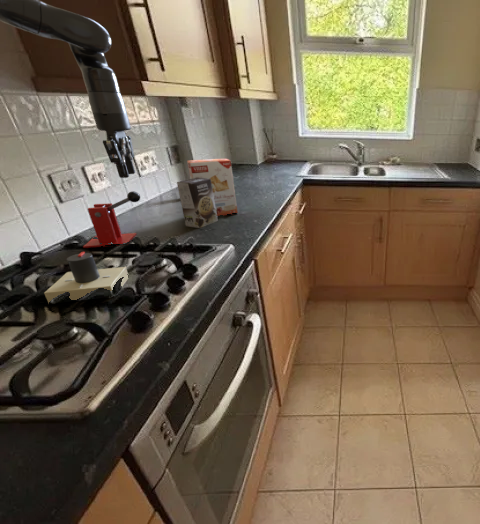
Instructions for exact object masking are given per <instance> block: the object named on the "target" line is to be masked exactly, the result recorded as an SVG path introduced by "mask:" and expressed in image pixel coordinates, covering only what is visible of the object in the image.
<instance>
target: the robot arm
mask: <svg viewBox="0 0 480 524" xmlns="http://www.w3.org/2000/svg"><path fill="white" fill-rule="evenodd" d="M0 22H2V23H4V24H6V25H10V26H11V27H14V28H16V29H19V30H23V31H24V32H29V33H31V34H33V35H36V36H39V37H42V38H46V39H50V40H51V39H53V40H58V41H62V42H65V43H68V45H69V48H70V51H71V52H72V55H73V57H74V60H75V61H76V64H77V65H78V67H79V69H80V71H81V74H82V79H83V82H84V85H85V88H86V91H87V98H88V103H89V106H90V110H91V113H92V117H93V119H94V122H95V126H96V129H97V130H98V131H102V132H105V134H106V140H105V139H103V140H102V144H103V146H104V149H105V152H106V154H107V156H108V159H109V161H110V163H111V164H114V165H115V167H116V171H117V172H118V177H119V178H121V179H128V178H129V177H130V175H134V174H136V170H135V166H134V163H133V161H134V158H135V152H134V148H133V142H132V137H131V136H130V135H127V134H126V132H125V131H130V130H131V129H132V127H131V123H130V119H129V116H128V112H127V108H126V104H125V101H124V98H123V96H122V93H121V89H120V85H119V81H118V78H117V76H116V75H117V74H116V73H115V70H114V69H112V68H111V67H109V65H108V62H107V58H106V55H105V54H106V53H108V52H109V51H110V49H111V47H112V45H113V44H112V43H113V42H112V37H111V35H110V34H109V32H108V30H107V29H106V28H105V27H104V26H102V24H100V23H99V22H97V21H95V20H94V19H92V18H89V17H87V16H84V15H81V14H79V13H75V12H72V11H69V10H68V9H67V10H66V9H63V8H60V7H56V6H53V5H51V4H48V3H46V2H44V1H42V0H0Z"/></svg>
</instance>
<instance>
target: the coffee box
mask: <svg viewBox="0 0 480 524" xmlns="http://www.w3.org/2000/svg"><path fill="white" fill-rule="evenodd" d="M176 184H177V189H178V190H177V191H178V195H179V200H180V204H181V209H182V215H183V218H184V224H185V227H190V228H197V229H201V228H203V227H206V226H209V225H211V224H214V223H216V222H218V221H219V220H218V216H217V212H216V207H215V201H214V195H213V189H212V183H211V179H207V178H194V179H191V178H189V179H185V180H179V181H177V182H176Z"/></svg>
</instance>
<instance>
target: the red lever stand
mask: <svg viewBox="0 0 480 524" xmlns="http://www.w3.org/2000/svg"><path fill="white" fill-rule="evenodd" d="M104 205H105V206H106V207H102V206H104ZM111 205H113V203H109V202H108V203H94V204H93V207H87V212H88V215H89V217H90V220H91V223H92V226H93V228H94V233H95V236H94V237H97V238H98V239H93V238H91V239H90V240H89V241H88V242H86V243H85V244H84V245H83V246H82V248H83V249H88V248H101V246H103V247H106V246H105V245H111V244H108V243H111V242H112V243H113V244H123V243H127V242H129V241H130V240H131V241H132V240H133V239H134V238H135V237H136V236H137V234H138V233H137V232H132V233H131V232H130V233H122V231H121V227H120V224H119V221H118V218H117V215H116V212H115V208H114V209H112V210H110V213H108V209H107V207H109V206H111ZM131 241H130V242H131ZM130 242H129V243H130ZM100 243H102V244H100Z"/></svg>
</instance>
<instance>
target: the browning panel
mask: <svg viewBox="0 0 480 524" xmlns="http://www.w3.org/2000/svg"><path fill="white" fill-rule="evenodd" d="M97 269H98V272H99V275H100V277H99V278H98V279H96V280H94V281H91V282H87V283H77V282H76V281H75V279H74V276H73V274H72V271H66V272H65V273H64V274H63V275H62V276H61V277H60V278H59V279H58V280H57V281H55V283H53V284H52V285H51V286H50V287H49V288H47V290H45V291H44V292H43V294H44V296H45V299H46V301H47V303H48V304H49V302H50V301H51V300H52V299H53V298H55V297H57V296H58V295H60V294H63V293H65V292H69V293H70V296H69V298H70V299H71V300H77V299H79V298H81V297H83V296H85V295H86V294H87V293H90V292H91V291H94V290H96V289H98V288H104V289H107V290H110V291H112V290H113V287H114V285H115V284H116V282H117V281H118V280H119V279H120V278H122V277H124V278H123V279H122V282H121V286H122V287H123V286H124V285H125V284H126V283H127V281H128V279H129V278H128V275H129V272H128V270H127V266H121V267H120V266H119V267H107V268H97ZM127 274H128V275H127Z"/></svg>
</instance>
